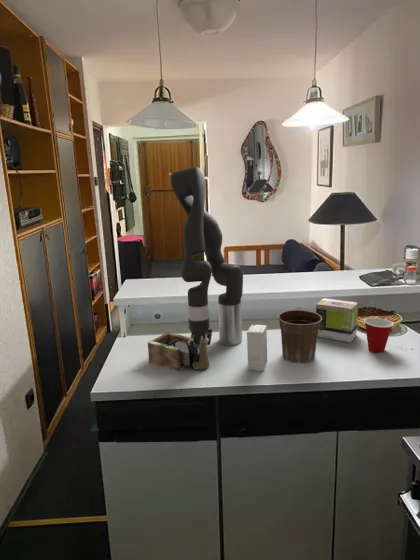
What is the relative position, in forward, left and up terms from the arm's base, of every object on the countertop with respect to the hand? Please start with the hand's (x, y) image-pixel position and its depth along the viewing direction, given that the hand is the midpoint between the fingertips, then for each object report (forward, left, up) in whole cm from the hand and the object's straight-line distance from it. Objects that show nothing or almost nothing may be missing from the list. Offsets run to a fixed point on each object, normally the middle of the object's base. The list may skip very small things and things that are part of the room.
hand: (200, 359), depth 157 cm
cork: (0, 0, -2) cm, 2 cm away
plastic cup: (-47, +51, -3) cm, 69 cm away
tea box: (-53, +33, -3) cm, 62 cm away
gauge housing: (0, -13, -3) cm, 13 cm away
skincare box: (-12, +17, -3) cm, 21 cm away
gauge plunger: (+1, -7, -1) cm, 7 cm away
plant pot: (-27, +27, -3) cm, 38 cm away
